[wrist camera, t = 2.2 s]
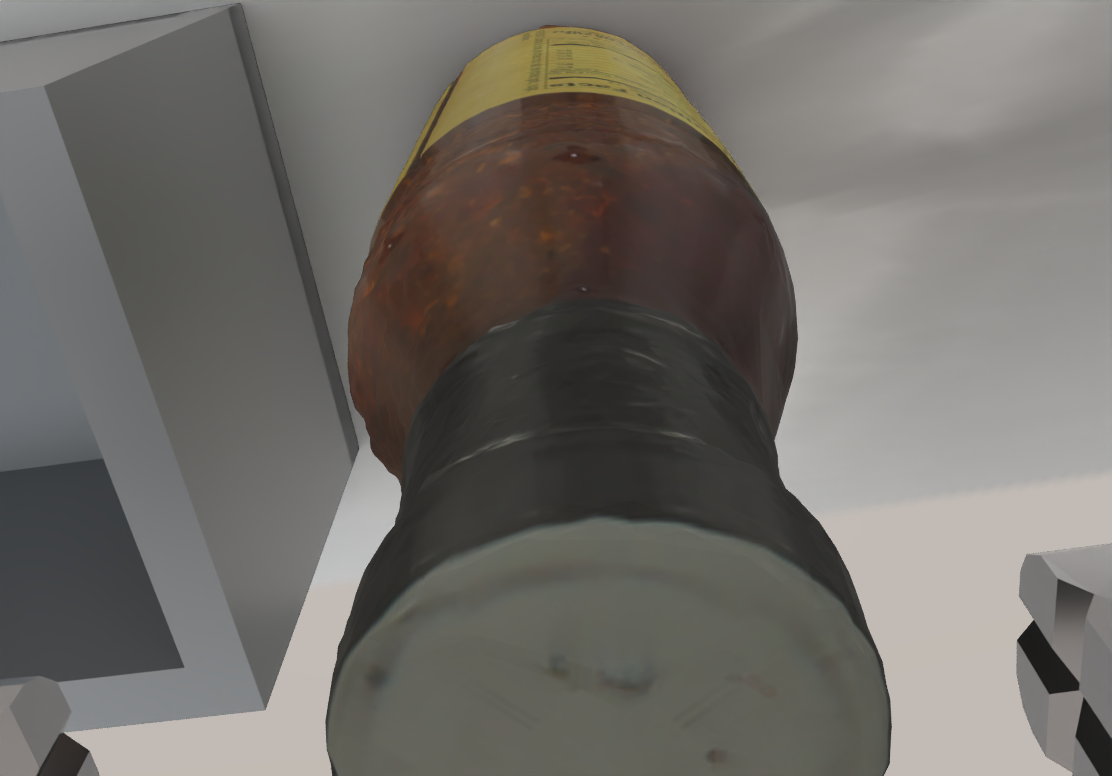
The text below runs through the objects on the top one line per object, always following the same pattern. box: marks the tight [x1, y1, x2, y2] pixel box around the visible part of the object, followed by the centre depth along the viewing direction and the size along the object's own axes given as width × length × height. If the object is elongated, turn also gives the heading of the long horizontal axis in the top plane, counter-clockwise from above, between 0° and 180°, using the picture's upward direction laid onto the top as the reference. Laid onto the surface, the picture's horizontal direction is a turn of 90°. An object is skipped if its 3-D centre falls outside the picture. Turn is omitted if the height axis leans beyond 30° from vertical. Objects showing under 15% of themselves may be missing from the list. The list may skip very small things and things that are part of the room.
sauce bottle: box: [326, 25, 892, 776], centre depth 16 cm, size 6×6×20 cm
